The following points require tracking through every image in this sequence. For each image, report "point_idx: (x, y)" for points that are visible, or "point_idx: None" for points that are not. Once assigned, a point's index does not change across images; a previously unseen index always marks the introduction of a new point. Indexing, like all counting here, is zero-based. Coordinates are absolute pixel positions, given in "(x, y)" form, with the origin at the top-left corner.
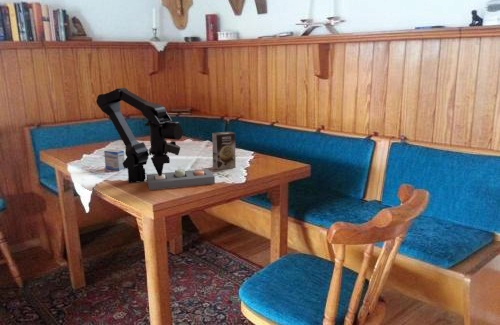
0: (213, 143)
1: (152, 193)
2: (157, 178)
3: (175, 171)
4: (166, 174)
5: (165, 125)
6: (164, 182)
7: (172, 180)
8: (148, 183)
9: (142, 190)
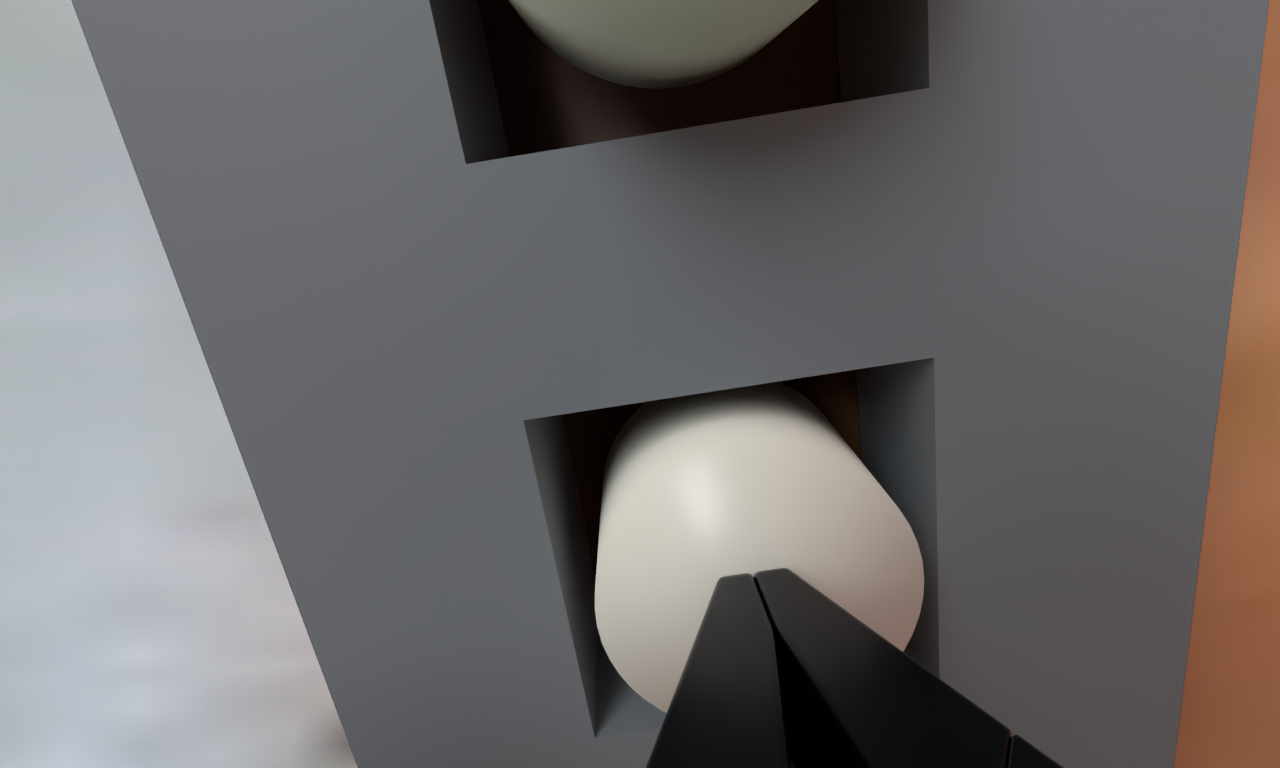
0: None
1: (1269, 589)
2: None
3: (762, 12)
4: (446, 401)
5: None
6: (1187, 423)
7: (1230, 178)
8: None
9: None
